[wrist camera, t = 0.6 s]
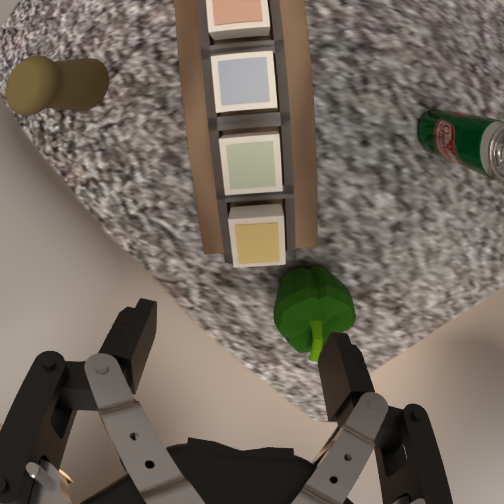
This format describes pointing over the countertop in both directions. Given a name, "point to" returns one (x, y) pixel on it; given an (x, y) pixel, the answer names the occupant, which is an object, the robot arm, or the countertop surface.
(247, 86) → the key
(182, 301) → the countertop surface
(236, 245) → the key
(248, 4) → the key
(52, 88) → the cork
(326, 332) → the bell pepper
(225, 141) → the key
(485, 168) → the soda can
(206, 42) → the keypad
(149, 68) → the countertop surface
